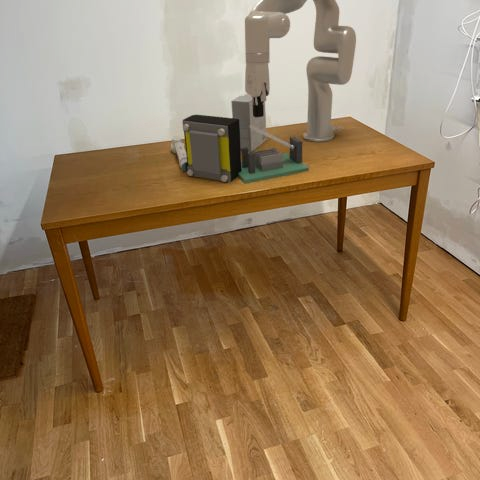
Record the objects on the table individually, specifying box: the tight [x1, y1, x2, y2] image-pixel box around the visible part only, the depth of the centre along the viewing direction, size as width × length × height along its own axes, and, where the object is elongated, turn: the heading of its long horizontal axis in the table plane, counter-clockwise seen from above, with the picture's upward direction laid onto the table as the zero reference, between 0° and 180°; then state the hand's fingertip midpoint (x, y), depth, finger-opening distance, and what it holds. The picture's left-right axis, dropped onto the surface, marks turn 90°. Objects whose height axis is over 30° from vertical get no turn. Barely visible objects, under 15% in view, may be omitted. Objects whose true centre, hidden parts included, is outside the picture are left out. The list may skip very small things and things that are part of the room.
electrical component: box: [182, 114, 242, 183], centre depth 159 cm, size 18×10×20 cm, turn 62°
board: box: [237, 136, 309, 184], centre depth 164 cm, size 24×16×9 cm, turn 111°
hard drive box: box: [230, 91, 267, 153], centre depth 183 cm, size 16×8×20 cm, turn 154°
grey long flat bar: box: [249, 124, 295, 150], centre depth 161 cm, size 18×4×1 cm
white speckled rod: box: [170, 135, 188, 172], centre depth 177 cm, size 5×7×25 cm
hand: (258, 116), depth 155 cm, fingers closed
